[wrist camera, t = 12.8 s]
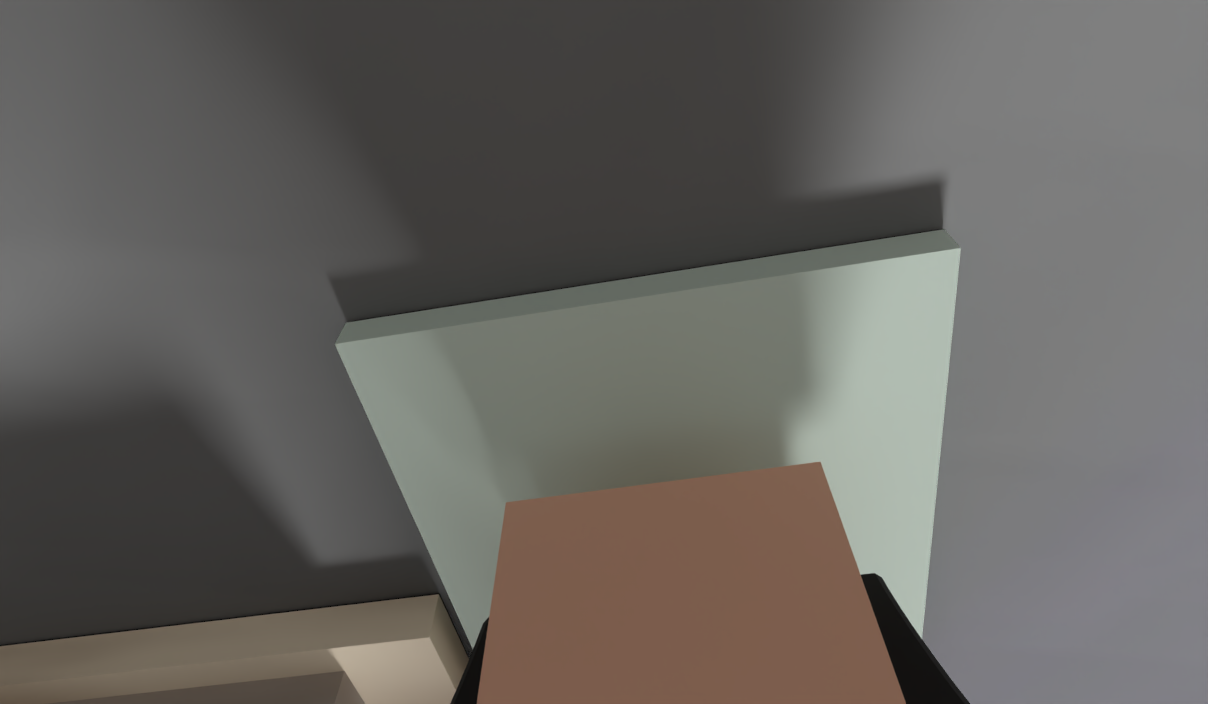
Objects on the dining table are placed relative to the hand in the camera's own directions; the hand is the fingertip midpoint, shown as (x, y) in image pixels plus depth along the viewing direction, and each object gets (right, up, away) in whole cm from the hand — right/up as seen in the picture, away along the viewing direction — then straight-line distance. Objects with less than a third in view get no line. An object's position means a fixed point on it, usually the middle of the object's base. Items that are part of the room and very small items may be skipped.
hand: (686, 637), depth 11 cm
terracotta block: (0, +1, +1) cm, 1 cm away
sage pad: (0, +2, +2) cm, 3 cm away
